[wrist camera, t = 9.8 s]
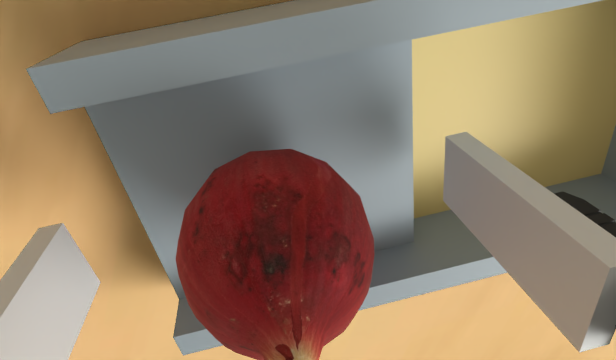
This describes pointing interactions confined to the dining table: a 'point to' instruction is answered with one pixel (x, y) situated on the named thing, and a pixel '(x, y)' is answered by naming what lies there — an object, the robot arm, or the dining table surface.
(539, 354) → the dining table surface
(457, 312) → the dining table surface
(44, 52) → the dining table surface
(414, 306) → the dining table surface
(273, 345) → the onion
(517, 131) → the pocket floor
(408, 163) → the rail deck
